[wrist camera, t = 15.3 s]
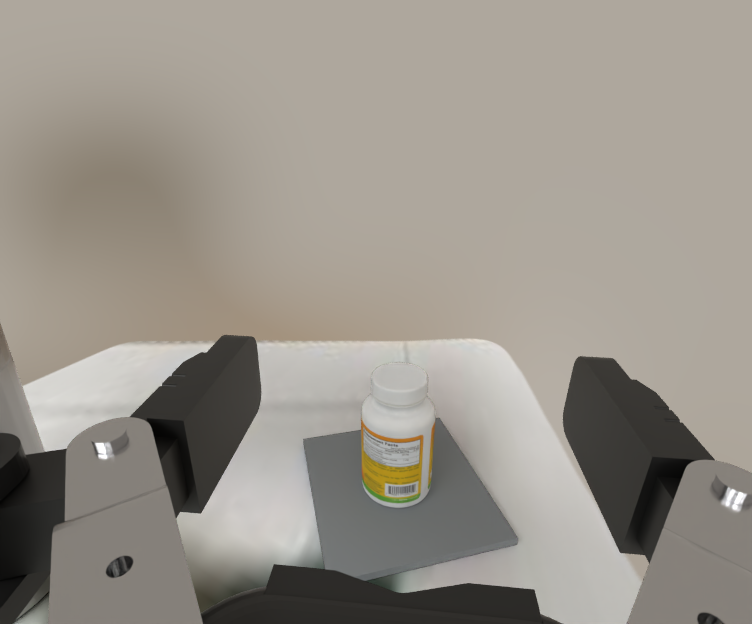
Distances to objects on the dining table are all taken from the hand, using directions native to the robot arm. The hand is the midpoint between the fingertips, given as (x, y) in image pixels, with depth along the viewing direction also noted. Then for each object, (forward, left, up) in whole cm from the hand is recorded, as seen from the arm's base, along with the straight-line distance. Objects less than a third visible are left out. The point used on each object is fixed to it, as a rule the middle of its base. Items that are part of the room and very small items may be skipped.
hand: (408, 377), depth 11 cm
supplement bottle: (+5, +16, -20) cm, 26 cm away
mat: (+5, +17, -20) cm, 27 cm away
